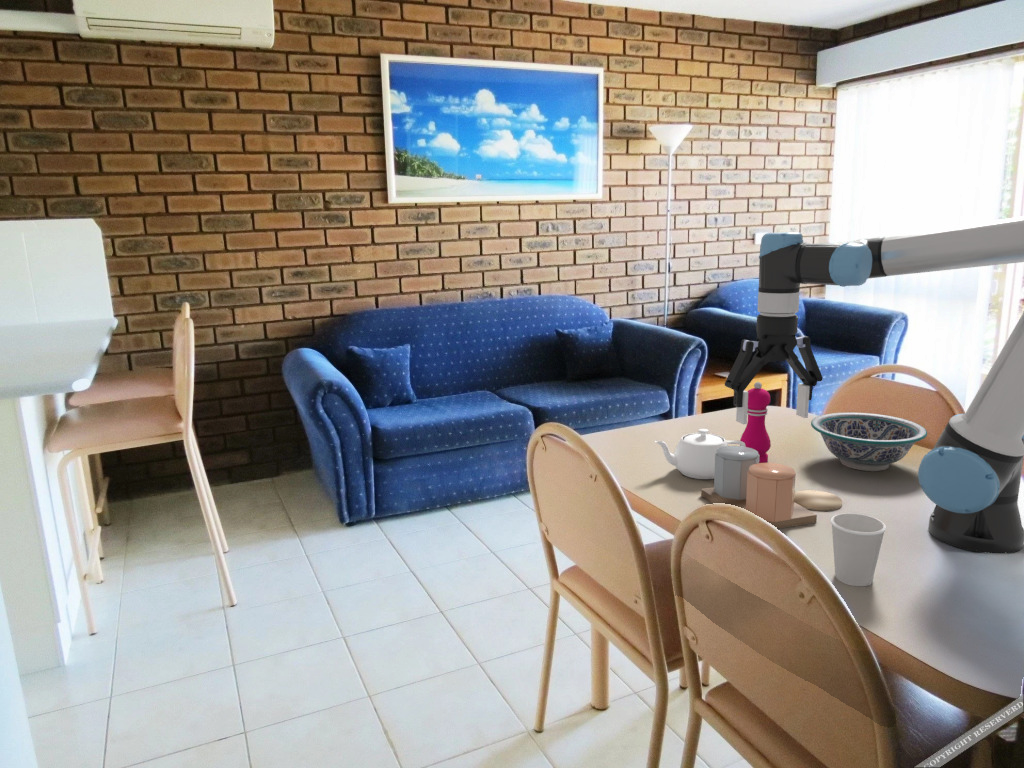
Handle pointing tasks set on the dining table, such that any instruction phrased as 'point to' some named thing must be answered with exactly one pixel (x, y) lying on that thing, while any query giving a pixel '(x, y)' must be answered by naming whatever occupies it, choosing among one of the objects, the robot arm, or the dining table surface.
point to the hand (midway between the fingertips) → (772, 419)
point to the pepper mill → (757, 422)
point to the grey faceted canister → (733, 470)
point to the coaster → (817, 500)
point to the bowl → (867, 438)
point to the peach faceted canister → (771, 491)
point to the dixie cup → (856, 547)
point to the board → (798, 518)
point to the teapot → (697, 453)
